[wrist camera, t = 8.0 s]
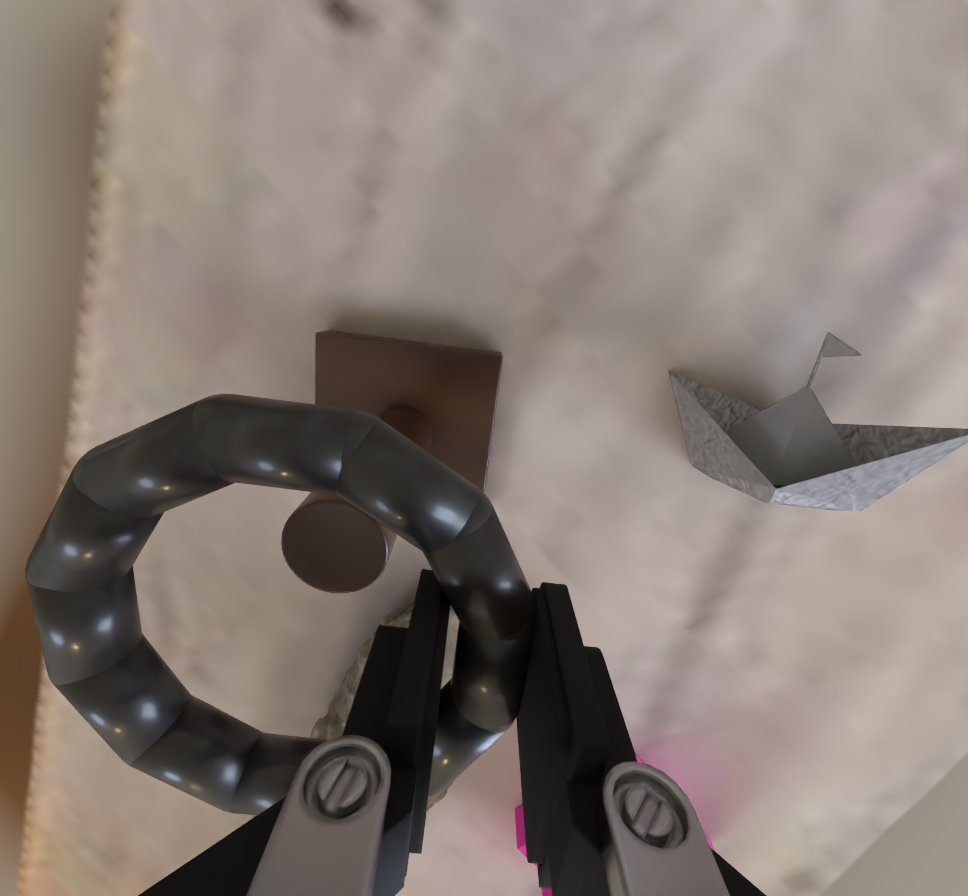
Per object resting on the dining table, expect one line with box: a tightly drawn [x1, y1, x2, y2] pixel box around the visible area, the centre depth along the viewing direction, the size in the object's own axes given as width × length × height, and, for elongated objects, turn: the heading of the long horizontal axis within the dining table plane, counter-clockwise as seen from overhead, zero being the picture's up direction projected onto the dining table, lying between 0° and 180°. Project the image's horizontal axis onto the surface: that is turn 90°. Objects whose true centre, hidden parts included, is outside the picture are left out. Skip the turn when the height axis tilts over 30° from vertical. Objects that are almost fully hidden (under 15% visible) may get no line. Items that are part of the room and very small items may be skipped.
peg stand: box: [281, 330, 503, 593], centre depth 18 cm, size 9×9×12 cm
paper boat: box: [668, 333, 968, 511], centre depth 21 cm, size 12×6×9 cm
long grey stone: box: [311, 602, 459, 811], centre depth 31 cm, size 35×5×10 cm
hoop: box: [25, 394, 537, 816], centre depth 10 cm, size 10×10×2 cm
